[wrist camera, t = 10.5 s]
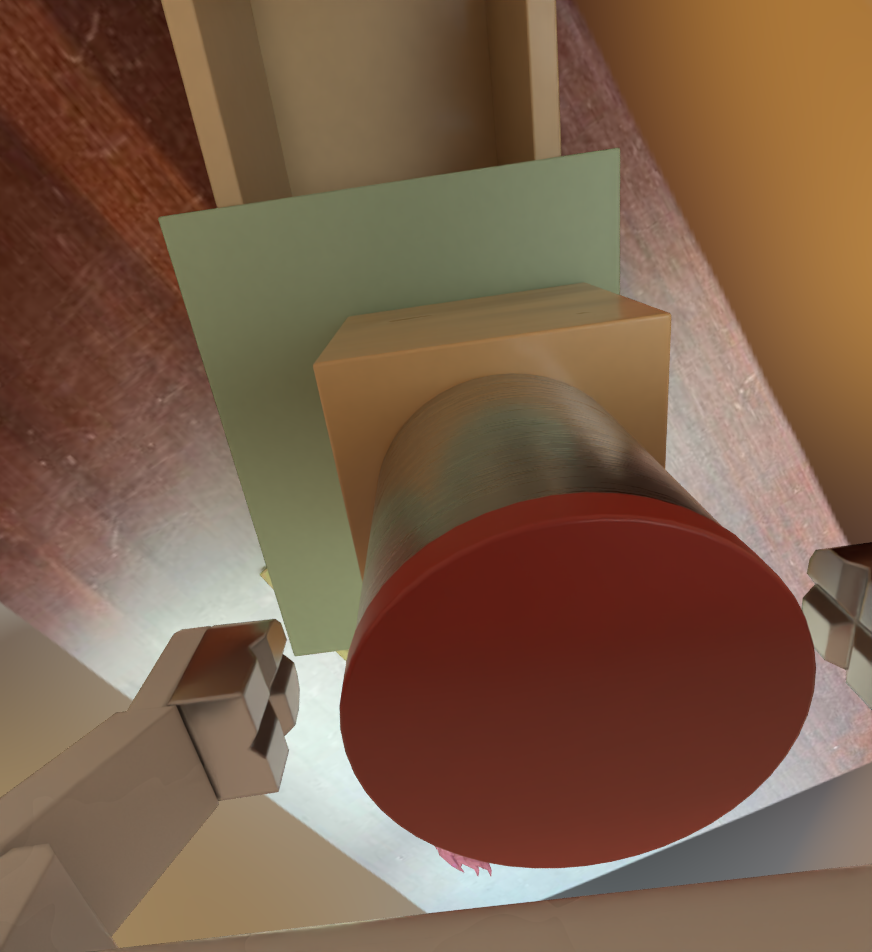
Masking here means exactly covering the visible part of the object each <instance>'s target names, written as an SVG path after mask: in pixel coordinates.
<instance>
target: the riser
mask: <svg viewBox="0 0 872 952" xmlns="http://www.w3.org/2000/svg"><path fill="white" fill-rule="evenodd" d="M670 336H671V314H670V313H668V312H665V311H663V310H660V309H657V308H654V307H651V306H649V305H646V304H643V303H640V302H638V301H635V300H632V299H629V298H627V297H624V296H621V295H618V294H615V293H613V292H610V291H607V290H604V289H602V288H599V287H596V286H593V285H591V284H588V283H585V282H584V283H577V284H570V285H563V286H556V287H549V288H542V289H535V290H528V291H522V292H515V293H508V294H501V295H494V296H487V297H480V298H473V299H466V300H459V301H452V302H445V303H438V304H431V305H424V306H418V307H411V308H404V309H397V310H390V311H383V312H376V313H369V314H362V315H355V316H349V317H347V319H346V320H345V322H344V323H343V324H342V326H341V327H340V328H339V330H338V331H337V332H336V334H335V335H334V337H333V338H332V339H331V341H330V342H329V343H328V345H327V346H326V347H325V349H324V350H323V352H322V353H321V354H320V356H319V357H318V358H317V360H316V361H315V362H314V364H313V369H314V374H315V378H316V382H317V387H318V391H319V395H320V400H321V404H322V409H323V413H324V417H325V422H326V426H327V430H328V435H329V439H330V443H331V448H332V452H333V457H334V461H335V465H336V470H337V474H338V478H339V483H340V487H341V491H342V496H343V500H344V504H345V509H346V513H347V518H348V522H349V526H350V531H351V535H352V539H353V544H354V548H355V552H356V557H357V561H358V565H359V570H360V574H361V579H362V583H363V577H364V571H365V564H366V557H367V551H368V544H369V538H370V531H371V524H372V518H373V511H374V505H375V498H376V492H377V485H378V478H379V473H380V469H381V466H382V463H383V459H384V457H385V455H386V453H387V450H388V448H389V446H390V444H391V442H392V441H393V439H394V438H395V436H396V435H397V433H398V431H399V430H400V429H401V427H402V426H403V425H404V424H405V423H406V422H407V420H408V419H409V418H410V417H411V416H412V415H413V414H414V413H415V412H416V411H417V410H418V409H420V408H421V407H422V406H423V405H424V404H425V403H427V402H428V401H430V400H431V399H433V398H434V397H436V396H437V395H439V394H440V393H442V392H444V391H446V390H448V389H450V388H452V387H454V386H456V385H458V384H461V383H464V382H467V381H470V380H472V379H476V378H481V377H485V376H489V375H497V374H508V373H516V374H532V375H538V376H544V377H548V378H551V379H555V380H558V381H561V382H564V383H566V384H568V385H570V386H572V387H575V388H577V389H579V390H580V391H582V392H584V393H585V394H587V395H588V396H590V397H591V398H593V399H594V400H595V401H596V402H597V403H598V404H599V405H601V406H602V407H603V408H604V409H605V410H606V411H607V412H608V413H609V414H610V415H611V416H612V417H613V418H614V419H615V420H616V421H617V422H618V423H619V424H620V425H621V426H622V427H623V428H624V429H625V430H626V431H627V432H628V433H629V434H630V435H631V436H632V437H633V438H634V439H635V440H636V441H637V442H638V443H639V444H640V445H641V446H642V447H643V448H644V449H645V450H646V451H647V452H648V453H649V454H650V455H651V456H652V457H653V458H654V459H655V460H656V461H657V462H658V463H659V464H660V465H661V466H662V467H663V468H664V469H665V460H666V435H667V410H668V386H669V361H670Z"/></svg>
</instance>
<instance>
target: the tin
mask: <svg viewBox="0 0 872 952" xmlns="http://www.w3.org/2000/svg"><path fill="white" fill-rule="evenodd" d="M815 674H816V663H815V652H814V644H813V640H812V637H811V633H810V630H809V627H808V623H807V620H806V617H805V615H804V614H803V612H802V610H801V608H800V606H799V604H798V602H797V600H796V598H795V596H794V595H793V594H792V592H791V591H790V590H789V589H788V587H787V586H786V585H785V583H784V582H783V581H782V580H781V578H780V577H779V576H778V575H777V574H776V573H775V572H774V571H773V570H772V569H771V568H770V567H769V566H768V565H767V564H766V563H765V562H764V561H763V560H762V559H761V558H760V557H759V556H758V555H757V554H756V553H755V552H754V551H753V550H751V549H750V548H749V547H748V546H747V545H746V544H745V543H744V542H742V541H741V540H740V539H739V538H738V537H737V536H736V535H735V534H733V533H732V532H730V531H728V530H727V529H725V528H724V527H722V526H721V525H720V524H719V523H718V522H717V521H716V520H715V519H714V518H713V517H712V516H711V515H710V514H709V513H708V512H707V511H706V510H705V509H704V508H703V507H702V506H701V505H700V504H699V503H698V502H697V501H696V500H695V499H694V498H693V497H692V496H691V495H690V494H689V493H688V492H687V491H686V490H685V489H684V488H683V487H682V486H681V485H680V484H679V483H678V482H677V481H676V480H675V479H674V478H673V477H672V476H671V475H670V474H669V473H668V472H667V471H666V470H665V469H664V468H663V467H662V466H661V465H660V464H659V463H658V462H657V461H656V460H655V459H654V458H653V457H652V456H651V455H650V454H649V453H648V452H647V451H646V450H645V449H644V448H643V447H642V446H641V445H640V444H639V443H638V442H637V441H636V440H635V439H634V438H633V437H632V436H631V435H630V434H629V433H628V432H627V431H626V430H625V429H624V428H623V427H622V426H621V425H620V424H619V423H618V422H617V421H616V420H615V419H614V418H613V417H612V416H611V415H610V414H609V413H608V412H607V411H606V410H605V409H604V408H603V407H602V406H601V405H599V404H598V403H597V402H596V401H595V400H594V399H593V398H591V397H590V396H588V395H587V394H585V393H584V392H582V391H580V390H579V389H577V388H575V387H572V386H570V385H568V384H566V383H564V382H561V381H558V380H555V379H551V378H548V377H544V376H538V375H532V374H516V373H508V374H497V375H489V376H485V377H481V378H476V379H472V380H470V381H467V382H464V383H461V384H458V385H456V386H454V387H452V388H450V389H448V390H446V391H444V392H442V393H440V394H439V395H437V396H436V397H434V398H433V399H431V400H430V401H428V402H427V403H425V404H424V405H423V406H422V407H421V408H420V409H418V410H417V411H416V412H415V413H414V414H413V415H412V416H411V417H410V418H409V419H408V420H407V422H406V423H405V424H404V425H403V426H402V427H401V429H400V430H399V431H398V433H397V435H396V436H395V438H394V439H393V441H392V442H391V444H390V446H389V448H388V450H387V453H386V455H385V457H384V459H383V463H382V466H381V469H380V473H379V478H378V485H377V492H376V498H375V505H374V511H373V518H372V524H371V531H370V538H369V544H368V551H367V557H366V564H365V571H364V577H363V584H362V590H361V597H360V603H359V610H358V617H357V623H356V630H355V633H354V636H353V639H352V642H351V645H350V648H349V652H348V655H347V661H346V668H345V674H344V680H343V687H342V693H341V700H340V730H341V734H342V739H343V743H344V748H345V752H346V755H347V757H348V760H349V762H350V764H351V767H352V769H353V772H354V774H355V776H356V777H357V779H358V781H359V782H360V784H361V785H362V787H363V789H364V790H365V792H366V793H367V794H368V795H369V797H370V798H371V799H372V800H373V801H374V802H375V804H376V805H377V806H378V807H379V808H380V809H381V810H382V811H383V812H384V813H385V814H386V815H388V816H389V817H390V818H391V819H392V820H393V821H395V822H396V823H397V824H398V825H400V826H401V827H403V828H404V829H406V830H407V831H409V832H410V833H412V834H413V835H415V836H416V837H418V838H420V839H422V840H424V841H426V842H428V843H430V844H432V845H434V846H436V847H438V848H441V849H443V850H446V851H449V852H451V853H454V854H457V855H459V856H463V857H467V858H471V859H474V860H478V861H482V862H487V863H493V864H499V865H504V866H512V867H525V868H567V867H579V866H588V865H594V864H600V863H606V862H612V861H616V860H620V859H624V858H628V857H632V856H636V855H640V854H643V853H646V852H649V851H652V850H655V849H658V848H661V847H663V846H666V845H668V844H670V843H673V842H675V841H677V840H680V839H682V838H684V837H687V836H689V835H691V834H693V833H694V832H696V831H698V830H700V829H702V828H704V827H706V826H708V825H709V824H711V823H713V822H714V821H716V820H717V819H719V818H720V817H722V816H723V815H725V814H726V813H728V812H729V811H731V810H732V809H734V808H735V807H736V806H737V805H739V804H740V803H741V802H742V801H744V800H745V799H746V798H747V797H749V796H750V795H751V794H752V793H753V792H754V791H755V790H756V789H757V788H758V787H759V786H760V785H761V784H762V783H763V782H765V781H766V780H767V779H768V778H769V777H770V776H771V774H772V773H773V772H774V771H775V769H776V768H777V767H778V766H779V764H780V763H781V762H782V761H783V759H784V758H785V757H786V755H787V754H788V752H789V750H790V749H791V747H792V746H793V744H794V742H795V741H796V739H797V737H798V736H799V734H800V731H801V729H802V727H803V724H804V722H805V720H806V717H807V715H808V712H809V708H810V705H811V701H812V697H813V693H814V685H815Z"/></svg>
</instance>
